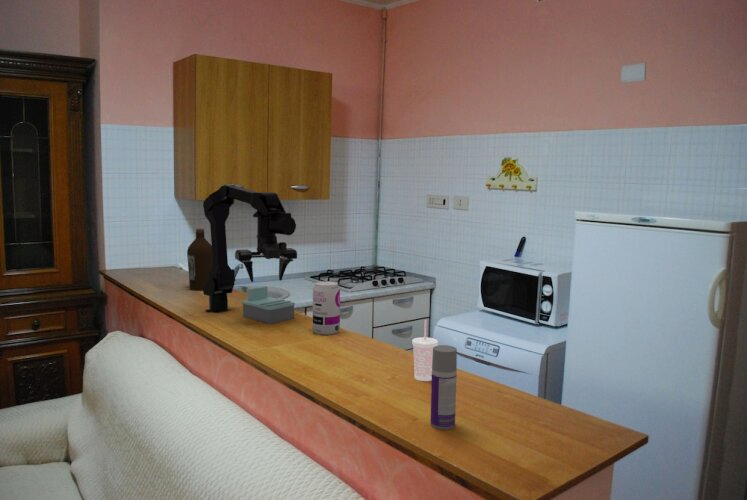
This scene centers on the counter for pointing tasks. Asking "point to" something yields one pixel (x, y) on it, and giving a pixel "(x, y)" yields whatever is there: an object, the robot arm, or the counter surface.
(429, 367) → the beverage cup
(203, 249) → the olive oil
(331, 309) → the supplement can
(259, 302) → the lid
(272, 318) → the tub
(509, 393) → the counter surface
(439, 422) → the container
